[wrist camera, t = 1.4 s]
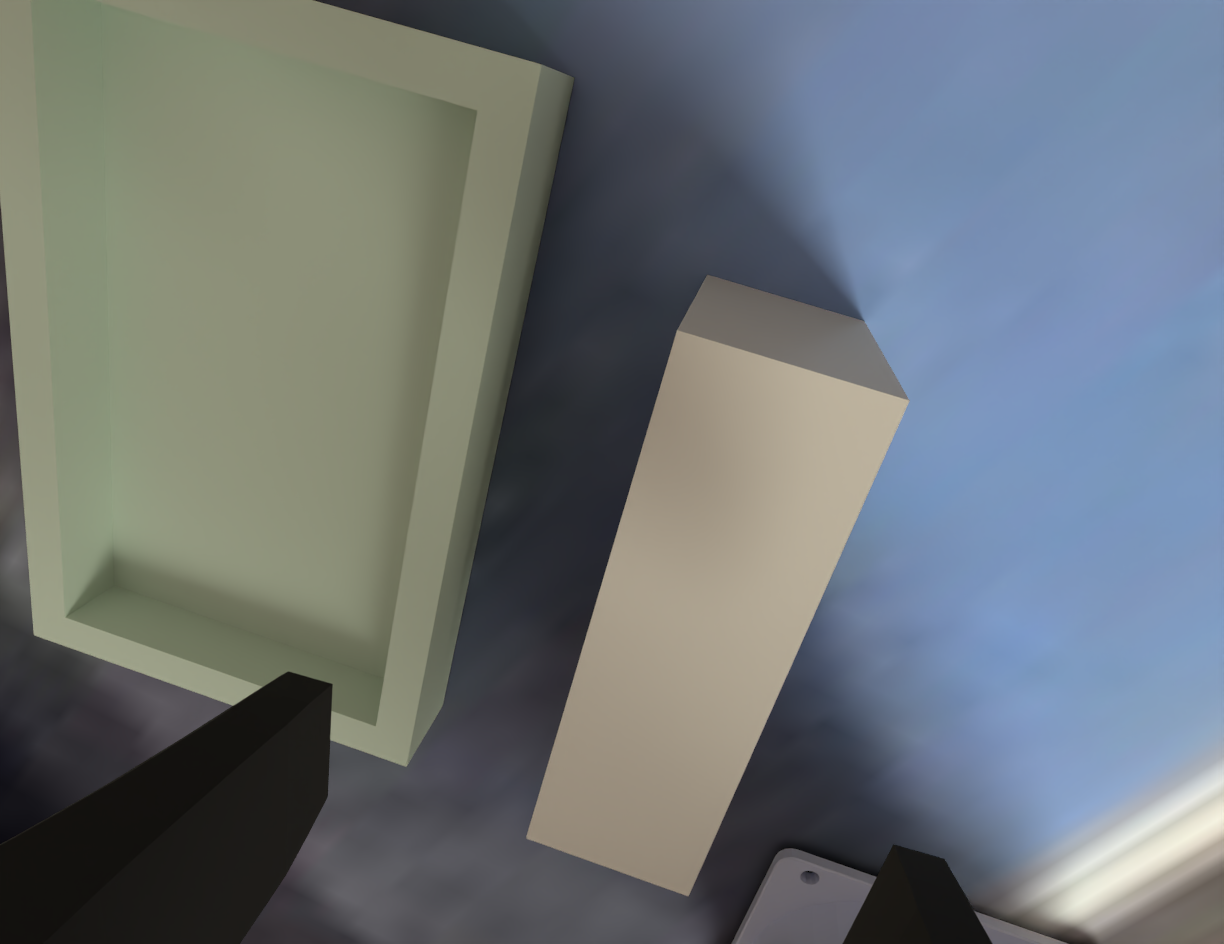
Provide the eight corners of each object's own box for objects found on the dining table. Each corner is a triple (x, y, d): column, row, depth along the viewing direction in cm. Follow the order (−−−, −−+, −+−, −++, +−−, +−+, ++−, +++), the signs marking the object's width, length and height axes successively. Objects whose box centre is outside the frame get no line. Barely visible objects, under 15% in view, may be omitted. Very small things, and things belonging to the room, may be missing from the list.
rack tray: (574, 78, 16) (541, 64, 13) (442, 705, 23) (406, 767, 20) (87, -60, 16) (-23, -94, 14) (105, 588, 23) (34, 635, 21)
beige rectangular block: (863, 319, 17) (909, 401, 11) (710, 704, 21) (688, 896, 16) (707, 273, 17) (677, 330, 11) (588, 663, 21) (526, 838, 16)
